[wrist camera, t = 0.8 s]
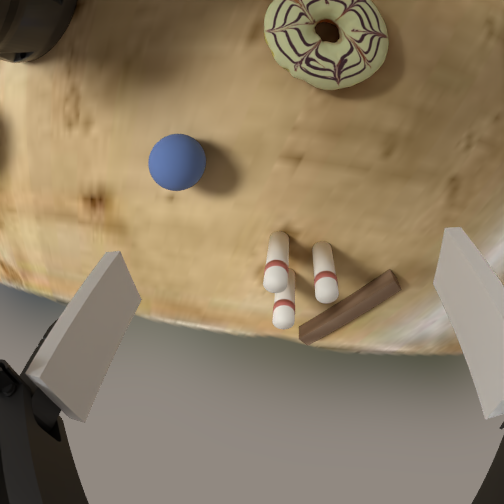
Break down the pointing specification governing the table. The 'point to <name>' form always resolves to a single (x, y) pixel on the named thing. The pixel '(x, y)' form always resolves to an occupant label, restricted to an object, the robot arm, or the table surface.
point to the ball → (177, 162)
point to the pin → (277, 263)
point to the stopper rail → (350, 308)
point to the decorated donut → (326, 53)
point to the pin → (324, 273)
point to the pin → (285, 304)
